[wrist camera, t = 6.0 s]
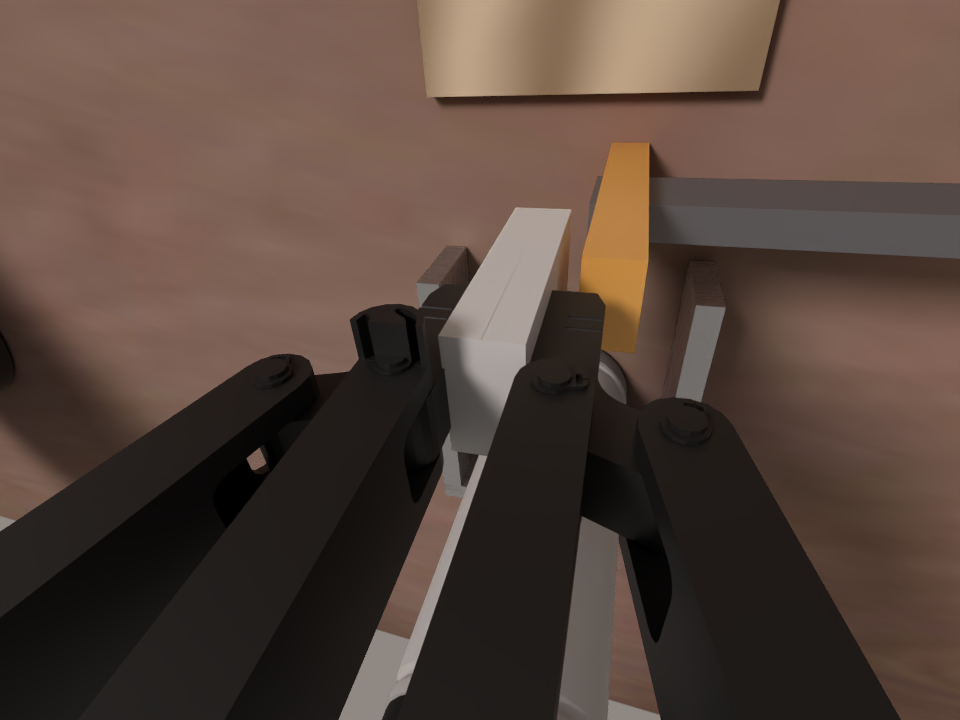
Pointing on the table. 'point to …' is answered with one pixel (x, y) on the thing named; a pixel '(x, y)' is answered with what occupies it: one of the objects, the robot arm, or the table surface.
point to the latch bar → (746, 224)
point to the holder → (686, 359)
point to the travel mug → (589, 605)
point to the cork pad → (593, 46)
